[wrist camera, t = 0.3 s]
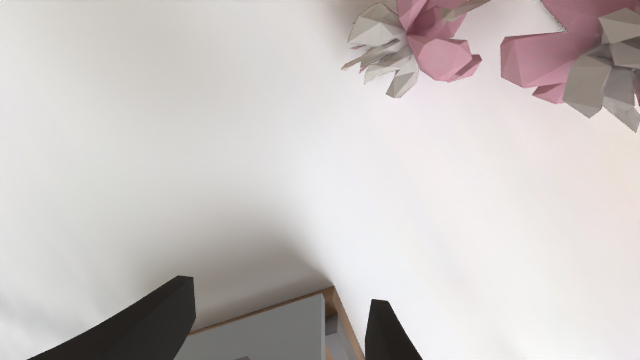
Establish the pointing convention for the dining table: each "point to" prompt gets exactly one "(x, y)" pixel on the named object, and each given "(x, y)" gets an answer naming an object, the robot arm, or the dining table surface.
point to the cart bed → (339, 335)
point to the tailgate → (265, 335)
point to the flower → (513, 51)
